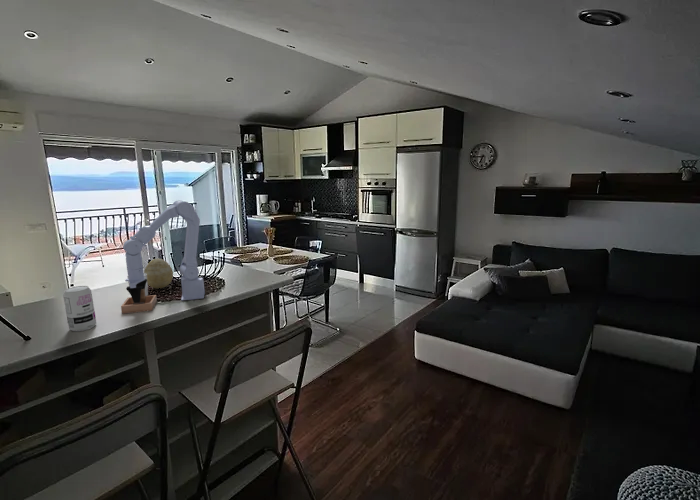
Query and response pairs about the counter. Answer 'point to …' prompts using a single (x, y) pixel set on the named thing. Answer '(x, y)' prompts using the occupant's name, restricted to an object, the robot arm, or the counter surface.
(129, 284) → the white cup
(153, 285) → the fossilized egg
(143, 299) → the tall brown plank
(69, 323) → the supplement can
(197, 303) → the counter surface
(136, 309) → the shallow square frame box
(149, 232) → the robot arm
